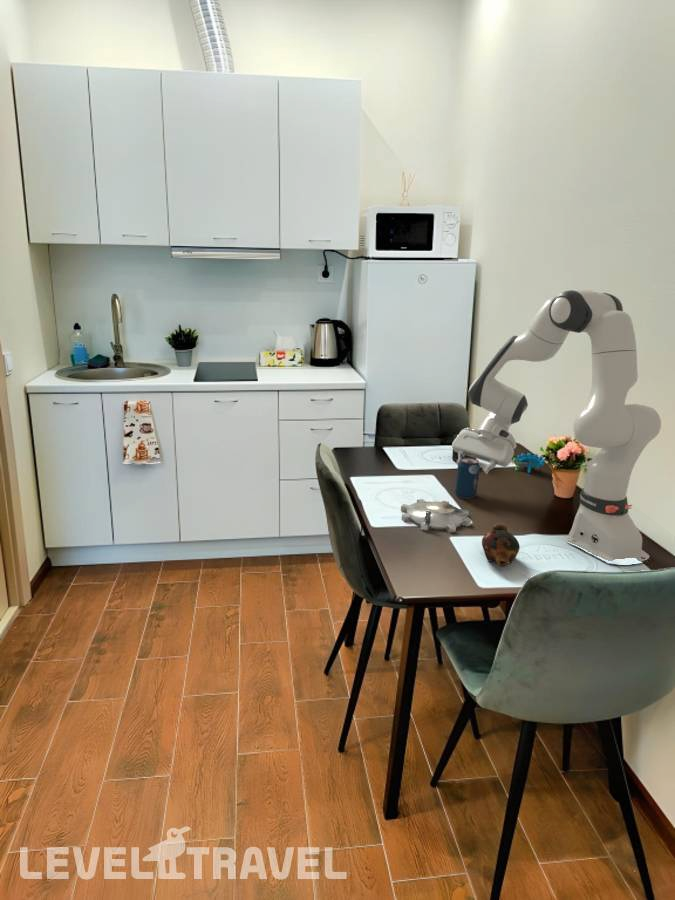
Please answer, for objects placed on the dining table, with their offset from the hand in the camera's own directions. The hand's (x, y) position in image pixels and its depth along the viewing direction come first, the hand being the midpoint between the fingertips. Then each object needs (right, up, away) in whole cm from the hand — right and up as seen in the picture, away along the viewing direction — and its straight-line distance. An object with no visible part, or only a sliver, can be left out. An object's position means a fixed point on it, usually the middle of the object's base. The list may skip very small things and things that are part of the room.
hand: (471, 468), depth 218 cm
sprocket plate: (-14, -14, -17) cm, 26 cm away
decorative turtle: (-1, -23, -41) cm, 46 cm away
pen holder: (+4, +2, +35) cm, 35 cm away
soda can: (-2, -9, +1) cm, 9 cm away
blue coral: (+26, -2, +29) cm, 39 cm away
